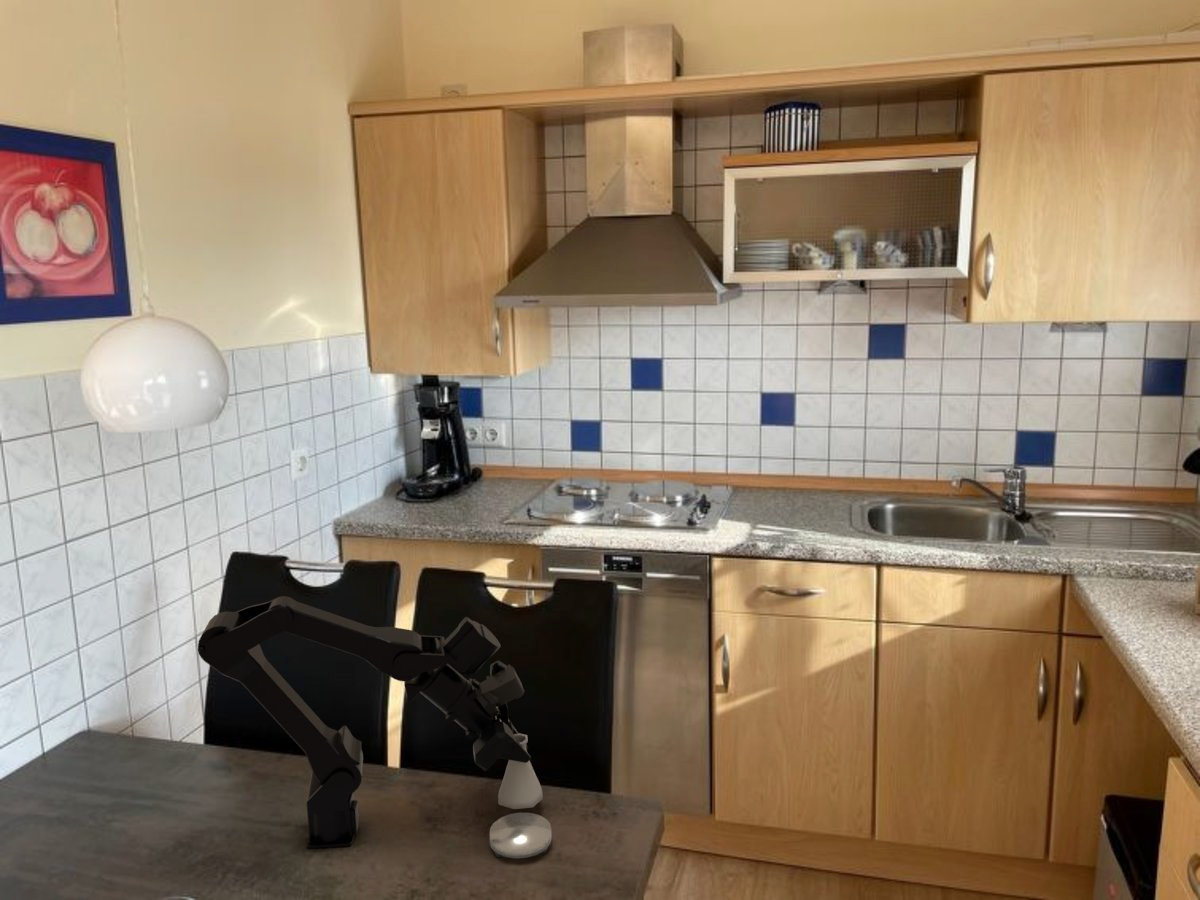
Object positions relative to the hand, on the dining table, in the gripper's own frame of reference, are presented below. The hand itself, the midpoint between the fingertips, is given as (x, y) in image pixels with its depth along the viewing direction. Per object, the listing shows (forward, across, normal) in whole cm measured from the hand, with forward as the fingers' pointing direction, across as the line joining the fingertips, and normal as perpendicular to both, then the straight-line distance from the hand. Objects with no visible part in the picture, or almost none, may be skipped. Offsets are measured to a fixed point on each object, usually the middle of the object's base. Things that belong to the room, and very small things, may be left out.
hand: (527, 754), depth 142 cm
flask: (+4, 0, +6) cm, 7 cm away
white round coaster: (+5, -9, +8) cm, 13 cm away
